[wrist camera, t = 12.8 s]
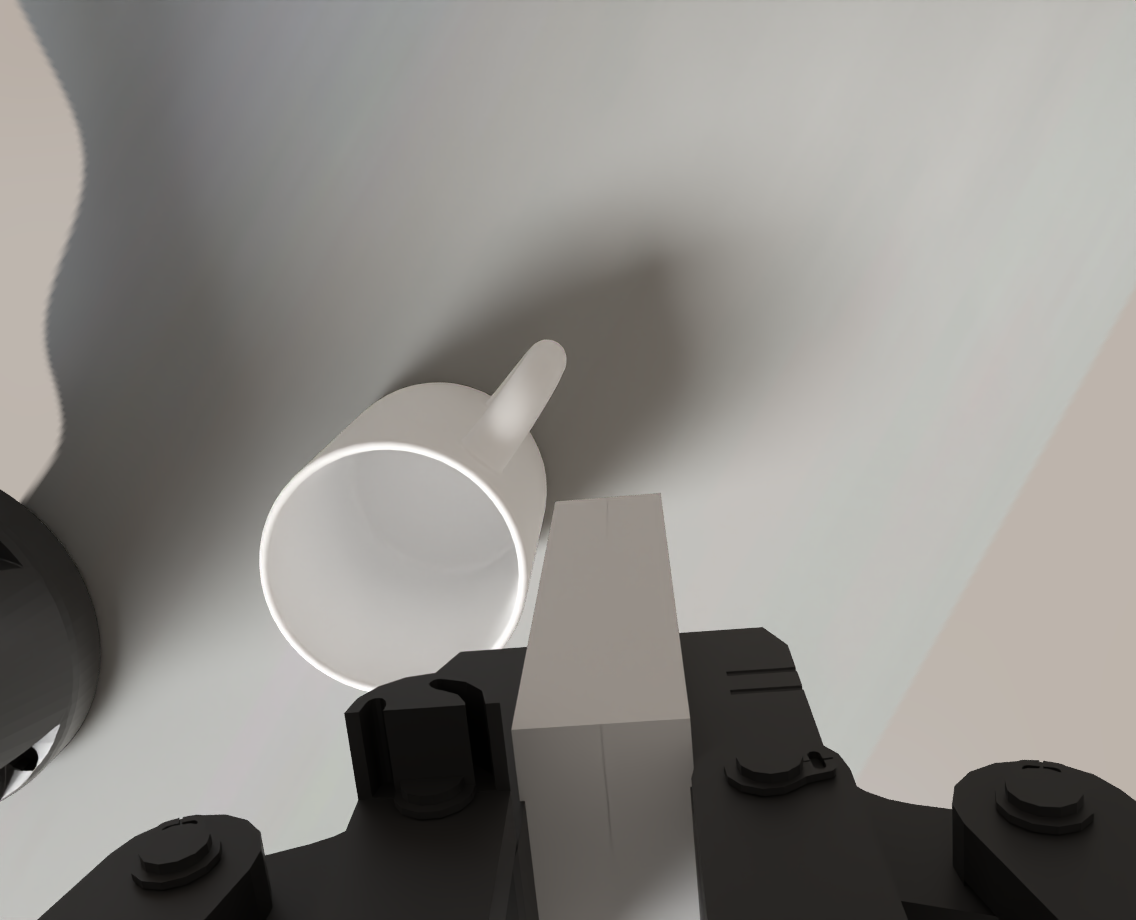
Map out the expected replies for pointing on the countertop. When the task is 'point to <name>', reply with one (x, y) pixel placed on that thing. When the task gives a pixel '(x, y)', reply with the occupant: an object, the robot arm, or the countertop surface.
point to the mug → (413, 529)
